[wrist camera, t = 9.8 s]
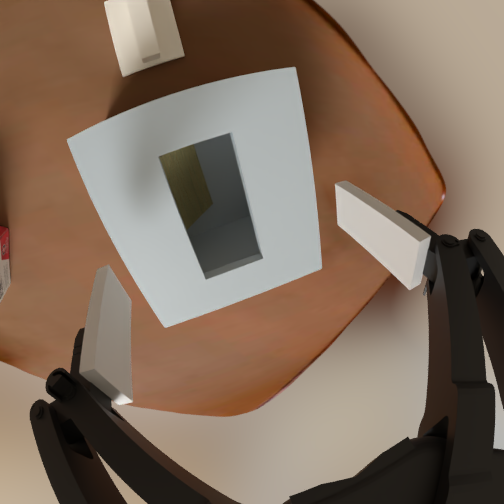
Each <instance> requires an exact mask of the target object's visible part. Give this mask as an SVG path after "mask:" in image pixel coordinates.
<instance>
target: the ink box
mask: <svg viewBox="0 0 504 504" xmlns="http://www.w3.org/2000/svg"><path fill="white" fill-rule="evenodd" d="M10 283H11V279H10V265H9V229H8V228H6V227H2V226H0V303H1V301H2V299H3V297H4V295H5V293H6V291H7V289H8V287H9V285H10Z"/></svg>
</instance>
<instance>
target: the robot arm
mask: <svg viewBox="0 0 504 504" xmlns="http://www.w3.org/2000/svg"><path fill="white" fill-rule="evenodd" d="M335 190H336V204H337V222H338V225H339V226H340V227H341V228H342V229H343V230H345V231H346V232H347V233H348V234H349V235H350V236H352V237H353V238H354V239H355V240H356V241H357V242H358V243H360V244H361V245H362V246H363V247H364V248H365V249H366V250H367V251H368V252H370V253H371V254H372V255H373V256H374V257H375V258H376V259H377V260H378V261H379V262H380V263H382V264H383V265H384V266H385V267H386V268H387V269H388V270H389V271H390V272H391V273H392V274H393V275H394V276H395V277H396V278H397V279H398V280H400V281H401V282H402V283H403V284H404V285H405V286H406V287H407V288H408V289H409V290H411V289H412V288H414V287H416V286H417V285H419V284H420V283H421V279H422V275H423V274H424V275H425V276H426V277H427V282H426V285H425V289H424V292H423V295H425V294H426V291H427V300H428V315H429V316H428V319H429V366H428V367H429V368H428V385H427V398H426V407H425V413H424V416H423V419H422V421H421V423H420V427H419V431H418V437H417V438H413V439H409V438H408V437H407V438H405V439H404V440H402V441H401V442H399V443H398V444H396V445H395V446H393V447H391V448H390V449H389V450H387V451H385V452H383V453H382V454H380V455H379V456H378V457H377V458H376V459H374V460H373V461H372V462H370V463H369V464H368V465H367V466H366V467H365V468H363V469H362V470H361V471H360V472H359V473H357V474H356V475H355V476H354V477H352V478H348V479H344V480H339V481H335V482H330V483H326V484H321V485H318V486H316V487H314V488H311V489H308V490H306V491H304V492H301V493H298V494H295V495H292V496H290V499H289V500H287V501H286V502H284V503H283V504H504V450H501V449H494V448H493V444H494V430H495V390H494V386H493V385H492V384H490V383H488V382H487V380H486V369H485V356H484V346H483V339H484V342H485V345H486V348H487V351H488V354H489V357H490V360H491V363H492V367H493V370H494V374H495V377H496V381H497V385H498V389H499V393H500V397H501V401H502V405H503V409H504V256H503V254H502V252H501V251H500V250H499V248H498V247H497V245H496V244H495V243H494V241H493V240H492V238H491V237H490V236H489V235H488V234H487V233H486V232H484V231H483V230H480V229H473V230H471V231H470V232H469V236H468V239H464V240H458V239H457V238H456V237H454V236H451V235H447V234H444V235H440V236H439V235H437V234H436V233H435V232H433V231H432V230H430V229H429V228H428V227H426V226H425V225H423V224H422V223H420V222H419V221H417V220H416V219H414V218H413V217H412V216H410V215H409V214H407V213H404V212H402V211H399V210H397V211H394V210H393V209H391V208H390V207H388V206H387V205H385V204H384V203H382V202H381V201H379V200H377V199H376V198H374V197H373V196H371V195H369V194H368V193H366V192H364V191H363V190H361V189H360V188H358V187H356V186H354V185H353V184H351V183H349V182H348V181H342V182H339V183H336V184H335ZM482 269H483V271H484V276H482V274H481V270H482ZM482 336H483V338H482ZM46 391H47V393H48V394H49V395H51V396H52V397H53V398H54V399H56V400H55V401H53V402H52V403H50V404H48V403H47V402H45V401H44V400H37V401H36V402H35V403H34V404H33V405H32V407H31V409H30V421H31V425H32V429H33V433H34V436H35V440H36V443H37V446H38V450H39V453H40V456H41V459H42V462H43V465H44V467H45V470H46V473H47V475H48V478H49V480H50V483H51V486H52V488H53V490H54V492H55V495H56V497H57V499H58V501H59V503H60V504H127V503H126V501H125V500H124V498H123V497H122V495H121V494H120V492H119V490H118V489H117V488H116V486H115V484H114V482H113V481H112V479H111V478H110V476H109V474H108V472H107V471H106V469H105V467H104V465H103V463H102V462H101V460H100V458H99V456H98V454H99V455H100V456H101V457H102V458H103V459H104V461H105V462H106V463H107V464H108V465H109V466H110V467H111V468H112V470H113V471H114V472H115V473H116V474H117V475H118V476H119V477H120V478H121V479H122V480H123V481H124V482H125V483H126V484H127V485H128V486H129V487H130V488H131V489H132V490H133V491H134V492H135V493H137V494H138V495H139V496H140V497H141V498H142V499H143V500H144V501H145V502H147V503H148V504H241V503H238V502H236V501H234V500H232V499H230V498H229V497H227V496H225V495H224V494H222V493H220V492H219V491H217V490H215V489H214V488H212V487H210V486H209V485H207V484H206V483H204V482H202V481H201V480H200V479H198V478H197V477H195V476H194V475H192V474H191V473H189V472H188V471H187V470H185V469H184V468H182V467H181V466H180V465H178V464H177V463H176V462H174V461H173V460H172V459H170V458H169V457H168V456H167V455H165V454H164V453H163V452H162V451H160V450H159V449H158V448H157V447H155V446H154V445H153V444H152V443H151V442H149V441H148V440H147V439H146V438H145V437H144V436H143V435H141V434H140V433H139V432H138V431H137V430H136V429H135V428H134V427H132V426H131V425H130V424H129V423H128V422H127V421H126V420H125V419H124V418H123V417H122V416H121V415H120V414H119V413H118V412H117V411H116V410H115V409H114V408H112V407H111V400H113V401H114V402H115V403H117V404H118V405H121V404H126V403H131V402H133V393H132V374H131V299H130V298H129V296H128V295H127V293H126V292H125V290H124V288H123V287H122V285H121V284H120V282H119V281H118V279H117V277H116V276H115V274H114V272H113V271H112V269H111V267H110V266H109V265H106V266H104V267H101V268H99V269H97V272H96V276H95V280H94V285H93V289H92V294H91V298H90V303H89V308H88V313H87V319H86V325H85V328H82V329H80V330H79V332H78V334H77V336H76V338H75V343H74V349H73V356H72V363H71V371H70V374H69V373H68V372H67V371H66V370H65V369H63V368H58V369H55V370H54V371H53V372H52V373H51V374H50V375H49V377H48V378H47V382H46ZM96 451H97V452H98V454H97V452H96Z"/></svg>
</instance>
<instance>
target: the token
mask: <svg viewBox="0 0 504 504" xmlns="http://www.w3.org/2000/svg"><path fill="white" fill-rule="evenodd" d="M159 158H160V161H161V163H162V166H163V169H164V172H165V175H166V178H167V180H168V183H169V186H170V189H171V191H172V194H173V197H174V199H175V202H176V205H177V207H178V210H179V213H180V215H181V218H182V220H183V223H184V225H185V228H186V231H187V230H188V228H189V227H190V226H191V225H192V224H193V223H194V222H195V221H196V220H197V219H198V218H199V217H200V216H201V215H202V214H203V213H204V212H205V211H206V210H207V209H208V208H209V207H210V206H211V205H212V204H213V202H212V199H211V196H210V193H209V190H208V187H207V184H206V181H205V178H204V175H203V172H202V169H201V166H200V163H199V160H198V156H197V153H196V150H195V147H194V144H192V145H189V146H186V147H183V148H180V149H178V150H175V151H172V152H169V153H167V154H164V155H161V156H159Z"/></svg>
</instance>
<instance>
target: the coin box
mask: <svg viewBox="0 0 504 504" xmlns="http://www.w3.org/2000/svg"><path fill="white" fill-rule="evenodd" d="M67 142H68V145H69V147H70V150H71V152H72V155H73V157H74V160H75V162H76V165H77V167H78V170H79V172H80V174H81V177H82V179H83V181H84V184H85V186H86V188H87V190H88V193H89V195H90V197H91V199H92V201H93V203H94V206H95V208H96V210H97V212H98V214H99V216H100V218H101V220H102V222H103V224H104V226H105V228H106V230H107V232H108V234H109V236H110V237H111V239H112V241H113V243H114V245H115V247H116V249H117V251H118V252H119V254H120V256H121V258H122V260H123V261H124V263H125V265H126V267H127V268H128V270H129V272H130V273H131V275H132V277H133V279H134V280H135V282H136V284H137V285H138V287H139V289H140V290H141V292H142V293H143V295H144V297H145V298H146V300H147V301H148V303H149V305H150V306H151V308H152V309H153V311H154V312H155V314H156V315H157V317H158V318H159V320H160V321H161V323H162V324H163V326H164V327H165V328H166V327H169V326H172V325H175V324H178V323H181V322H184V321H187V320H189V319H192V318H195V317H198V316H201V315H203V314H206V313H209V312H212V311H214V310H217V309H220V308H223V307H225V306H228V305H231V304H233V303H236V302H239V301H241V300H244V299H247V298H249V297H252V296H255V295H257V294H260V293H262V292H265V291H267V290H270V289H273V288H275V287H278V286H280V285H283V284H285V283H288V282H290V281H293V280H295V279H298V278H300V277H303V276H305V275H307V274H310V273H312V272H315V271H317V270H319V269H322V261H321V247H320V235H319V224H318V213H317V204H316V194H315V186H314V177H313V170H312V162H311V155H310V148H309V141H308V134H307V128H306V122H305V116H304V110H303V104H302V98H301V93H300V88H299V83H298V77H297V72H296V68H295V67H290V68H282V69H275V70H269V71H263V72H257V73H252V74H247V75H242V76H237V77H233V78H228V79H224V80H220V81H216V82H212V83H208V84H204V85H200V86H197V87H193V88H190V89H187V90H183V91H180V92H177V93H174V94H171V95H168V96H165V97H162V98H159V99H156V100H153V101H151V102H148V103H145V104H143V105H140V106H138V107H135V108H133V109H130V110H128V111H125V112H123V113H120V114H118V115H116V116H114V117H111V118H109V119H107V120H105V121H103V122H100V123H98V124H96V125H94V126H92V127H90V128H88V129H86V130H84V131H82V132H80V133H78V134H76V135H74V136H73V137H71V138H69V139H67ZM192 144H194V147H195V150H196V153H197V156H198V160H199V163H200V166H201V169H202V172H203V175H204V178H205V181H206V184H207V187H208V190H209V193H210V196H211V199H212V202H213V204H212V205H211V206H210V207H209V208H208V209H207V210H206V211H205V212H204V213H203V214H202V215H201V216H200V217H199V218H198V219H197V220H196V221H195V222H194V223H193V224H192V225H191V226H190V227H189V228H188V230H187V231H186V228H185V225H184V223H183V220H182V218H181V215H180V213H179V210H178V207H177V205H176V202H175V199H174V197H173V194H172V191H171V189H170V186H169V183H168V180H167V178H166V175H165V172H164V169H163V166H162V163H161V161H160V158H159V156H161V155H164V154H167V153H169V152H172V151H175V150H178V149H180V148H183V147H186V146H189V145H192Z"/></svg>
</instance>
